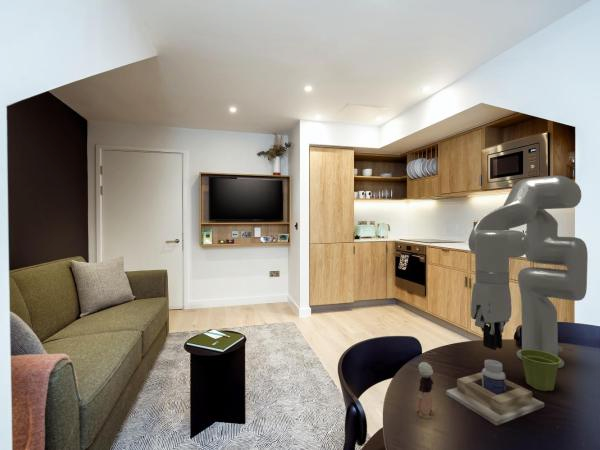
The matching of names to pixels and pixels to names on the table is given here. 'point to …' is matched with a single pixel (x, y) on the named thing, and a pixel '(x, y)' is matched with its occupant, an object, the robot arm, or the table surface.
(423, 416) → the grandmother figurine
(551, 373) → the plant pot
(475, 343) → the table surface
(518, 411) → the frame
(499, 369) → the pill bottle
